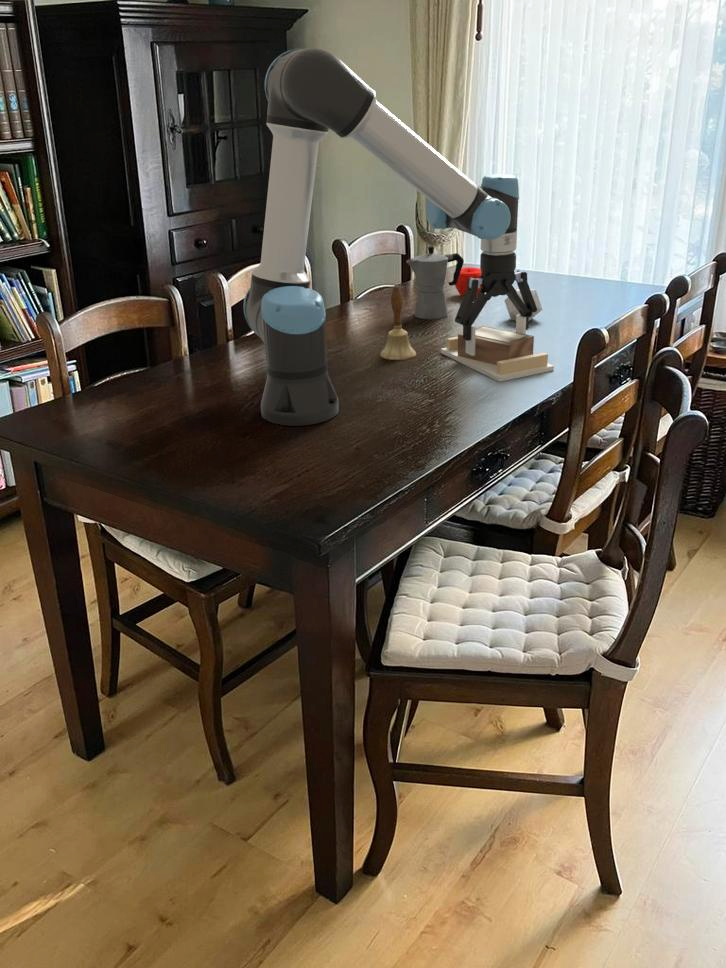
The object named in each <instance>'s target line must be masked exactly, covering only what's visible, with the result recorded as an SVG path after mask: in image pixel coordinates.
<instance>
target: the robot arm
mask: <svg viewBox="0 0 726 968" xmlns="http://www.w3.org/2000/svg"><path fill="white" fill-rule="evenodd" d="M264 92H265V96H266V97H265V98H266V100H267V102H268V103H267V115H266V124H265V125H266V126H267V127H268V129H269V130H270V132H271V134H272V147H271V155H270V157H271V158H270V167H269V176H268V177H269V178H268V187H267V196H266V205H265V207H266V208H265V214H264V215H265V217H264V227H263V237H262V245H261V246H262V247H261V255H260V257H261V258H260V264H259V265H258V266H256V267H255V268H254V269H253V270H252V271H251V277H250V287H249V288H248V290H247V292H246V294H245V296H244V299H243V314H244V318H245V320H246V323H247V325H248V326H249V329H250V330H251V331H252V332H253V333H254V335H256V336H258V337H259V338H260V339H261V342H263V343H264V350H265V351H264V352H265V365H266V376H267V377H266V381H265V385H264V390H263V394H262V397H261V401H260V414H261V417H262V418H263V420H265V419H266V420H267V421H266V420H265V421H266V422H268V421H269V423H271V422H272V423H271V424H274V423H275V425H278V424H280V426H286V425H287V427H289V426H290V427H298V426H299V427H300V426H309V425H310V426H311V425H316V424H320V423H324V422H326V421H327V422H328V421H329V420H331V419H333V418H334V417H336V416H337V415H338V413H339V410H340V409H339V407H340V405H339V397H338V395H337V393H336V390H335V387H334V385H333V382H332V381H331V380H332V379H331V378H330V377H331V376H330V375H329V371H328V370H329V369H328V356H327V355H328V354H327V353H328V352H327V351H328V350H327V331H326V313H327V312H326V308H325V304H324V299H323V297H322V296H321V294H320V293H319V292H317V291H316V290H314V289H312V288H310V286H311V278H310V277H309V275H308V274H307V272H306V271H305V265H306V264H305V263H306V254H307V245H308V236H309V230H310V229H309V228H310V221H311V211H312V204H313V203H312V202H313V195H314V188H315V187H314V186H315V179H316V169H317V159H318V152H319V144H320V142H321V141H322V140H323V139H324V138H325V137H326V136H328V135H329V130H330V131H332V132H333V133H335V134H336V135H337V136H338V137H340V138H341V139H350V138H351V139H352V140H353V141H354V142H356V143H357V144H358V145H359V146H361V148H363V149H364V150H366V151H367V152H368V153H369V154H370V155H372V156H373V157H374V158H376V159H377V160H378V161H380V162H381V163H382V164H383V165H385V166H386V167H387V168H388V169H390V170H391V171H392V172H394V173H395V174H396V175H397V176H398V177H399V178H401V179H402V180H404V181H405V182H406V183H407V184H409V185H410V186H411V187H413V188H414V189H415V190H416V191H418V192H419V193H420V194H421V195H423V196H424V197H425V198H426V201H425V216H426V221H427V223H428V226H430V227H431V228H432V229H435V230H436V229H437V230H439V229H441V230H442V229H443V230H446V229H456V230H457V231H458V230H459V231H461V232H463V233H467V234H469V235H472V236H474V237H476V238H478V239H480V250H481V251H482V252H481V253H480V258H479V259H480V261H479V263H480V264H479V266H480V267H479V269H481V277H480V278H479V279H474V278H468V281H467V289H466V292H465V295H464V297H462V299H461V302H460V305H459V308H458V310H457V313H456V316H455V318H454V322H455V323H457V324H459V325H462V333H463V339H464V340H466V353H467V354H469V355H471V356H474V355H475V334H476V328H477V326H476V325H474V323H475V321H476V320H477V318H478V316H480V313H481V312H482V310H483V308H484V307H485V306H486V304H487V302H488V301H490V300H491V299H492V297H493V298H496V297H498V296H507V297H508V298H509V299H510V300H511V302H512V303H513V304H514V306H515V307H516V309H517V310H518V311H519V313H520V314H521V315H516V321H515V332H517V333H522V334H526V332H527V331H528V329H529V323H530V321H529V317H531V316H532V313H533V312H536V311H537V307H536V304H535V302H534V299H533V296H532V293H531V290H530V289H531V288H530V286H529V283H528V273H527V272H526V271H523V270H520V269H518V270H516V269H517V253H516V252H515V251H516V250H517V244H518V243H517V241H518V240H517V239H518V238H517V237H518V215H519V214H518V212H519V200H520V191H519V189H520V187H519V179H518V177H517V176H515V175H514V174H509V173H508V174H507V173H496V174H493V173H492V174H486V175H484V176H483V177H482V179H481V183H480V186H479V185H477V184H476V183H475V182H474V181H473V180H471V179H470V178H469V177H468V176H467V175H465V174H464V173H463V172H462V171H461V170H459V168H457V167H456V166H455V165H454V164H452V163H451V162H450V161H449V160H448V159H446V157H444V156H443V155H441V153H440V152H439V151H437V150H436V149H434V147H432V146H431V145H430V144H429V143H428V142H426V141H425V139H423V138H421V137H420V136H419V135H418V134H417V133H416V132H415V131H414V130H412V129H411V128H410V127H408V126H407V125H406V124H405V123H404V122H402V121H401V120H400V119H399V118H398V117H396V115H394V114H393V113H392V112H391V111H389V109H388V108H386V107H385V106H384V105H383V104H381V103H380V102H379V101H378V100H377V95H376V91H375V90H374V89H373V88H371V87H370V85H368V84H367V83H366V82H365V81H364V80H363V79H361V77H360V76H358V75H357V74H356V73H355V72H354V71H353V70H352V69H350V67H349V66H348V65H346V63H344V62H343V61H342V60H341V59H340V58H338V57H337V56H336V55H334V54H333V53H331V52H329V51H327V50H326V49H325V50H324V49H322V48H315V47H314V48H311V47H310V48H294V49H290V50H286V51H284V52H282V53H281V54H280V55H278V56H277V57H276V58H275V59H274V60H273V61H272V62H271V64H269V67H268V68H267V72H266V75H265V78H264ZM515 270H516V272H515ZM515 282H516V285H517V289H518V288H519V290H520V293H521V296H522V298H523V301H524V303H523V301H522V300H521V299H520V297H519V296H518V294H517V293H516V292H517V291H516V290H517V289H516V288H515V287H514V286H513V284H514V283H515ZM480 285H481V286H482V287H481V289H480V291H479V292H478V296H477V297H476V294H477V291H478V288H480Z"/></svg>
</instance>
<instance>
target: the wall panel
mask: <svg viewBox="0 0 726 968" xmlns="http://www.w3.org/2000/svg"><path fill="white" fill-rule="evenodd" d="M440 353H441V354H442V355H444V356H446V357H448V358H451V359H452V360H454V361H457V362H459V363H461V364H463V365H465V366H466V367H468V368H471V369H473V370H474V371H476V372H479V373H481V374H482V375H484V376H485V375H486V376H487V377H489V378H491V379H493V380H494V381H497V382H504V381H508V380H513V379H518V378H522V377H523V378H524V377H528V376H533V375H537V374H543V373H548V372H552V371H553V372H554V371H555V369H554V367H555V365H552V364H551V363H548V360H549V358H548V357H549V354H548V353H546V352H539V353H533V355H528V356H523V357H518V358H513V359H508V360H503V361H498V362H497V365H494V364H490V363H485V362H481V361H477V360H473V359H469V358H464V357H460V356H458V335H457V336H454V337H453V336H452V337H447V338H446V347H442V348H440Z"/></svg>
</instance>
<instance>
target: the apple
mask: <svg viewBox="0 0 726 968" xmlns="http://www.w3.org/2000/svg"><path fill="white" fill-rule="evenodd" d="M454 273H455V271H454V272H453V274H454ZM480 277H481V269H480V268H478V267H474V266H473V267H471V266H469V267H466V266H465V267H462V269H461V272H460V275H459V278H458V281H457V284H456V285H454V287H455V289H456V290H457V293H458V294H459V295H460V296H461V297H462V298H463V297H464V295H465V292H466V289H467V281H468V278H474V279H479V278H480ZM481 287H482V286H481V285H480V288H478V291H477V294H476V297H475V298H477V296H478V292H479V291H480V289H481Z"/></svg>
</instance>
